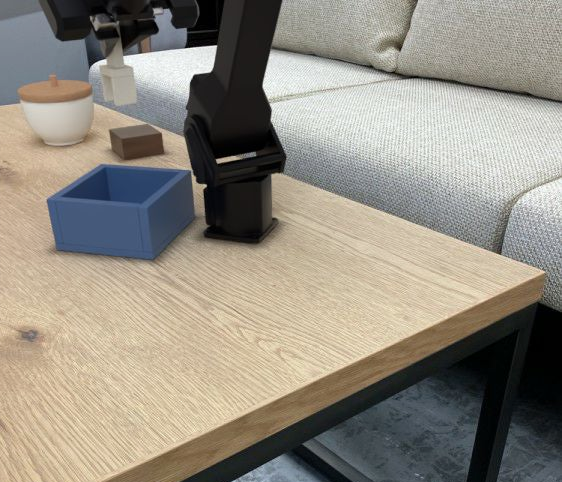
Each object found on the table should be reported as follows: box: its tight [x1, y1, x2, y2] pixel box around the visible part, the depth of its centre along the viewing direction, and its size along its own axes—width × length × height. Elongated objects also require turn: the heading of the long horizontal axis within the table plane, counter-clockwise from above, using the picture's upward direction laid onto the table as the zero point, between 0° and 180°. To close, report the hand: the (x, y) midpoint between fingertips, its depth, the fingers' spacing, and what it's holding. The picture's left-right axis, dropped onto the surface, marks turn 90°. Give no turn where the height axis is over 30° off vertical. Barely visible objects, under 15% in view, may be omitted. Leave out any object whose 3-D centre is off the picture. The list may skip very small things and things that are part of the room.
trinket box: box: [17, 74, 95, 147], centre depth 106 cm, size 11×11×9 cm
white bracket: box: [98, 23, 138, 107], centre depth 92 cm, size 4×3×10 cm
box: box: [46, 163, 196, 261], centre depth 75 cm, size 11×12×6 cm
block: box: [108, 123, 165, 161], centre depth 102 cm, size 6×6×3 cm
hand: (109, 53), depth 92 cm, fingers closed on white bracket
